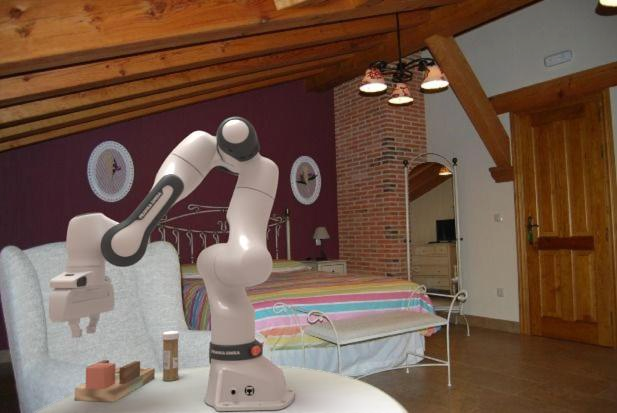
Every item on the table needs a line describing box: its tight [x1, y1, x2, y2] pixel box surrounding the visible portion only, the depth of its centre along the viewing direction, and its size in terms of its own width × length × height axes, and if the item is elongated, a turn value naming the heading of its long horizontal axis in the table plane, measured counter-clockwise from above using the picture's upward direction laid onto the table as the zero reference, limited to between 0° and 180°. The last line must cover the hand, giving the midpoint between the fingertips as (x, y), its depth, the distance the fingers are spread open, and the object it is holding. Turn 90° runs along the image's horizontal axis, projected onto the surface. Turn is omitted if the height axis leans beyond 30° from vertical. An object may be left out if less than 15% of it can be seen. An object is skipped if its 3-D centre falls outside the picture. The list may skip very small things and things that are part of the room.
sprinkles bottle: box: [162, 330, 180, 382], centre depth 133 cm, size 5×5×13 cm
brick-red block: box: [85, 362, 117, 389], centre depth 118 cm, size 5×5×5 cm
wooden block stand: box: [74, 359, 156, 403], centre depth 125 cm, size 11×20×7 cm, turn 170°
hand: (84, 335), depth 112 cm, fingers open, 4 cm apart
